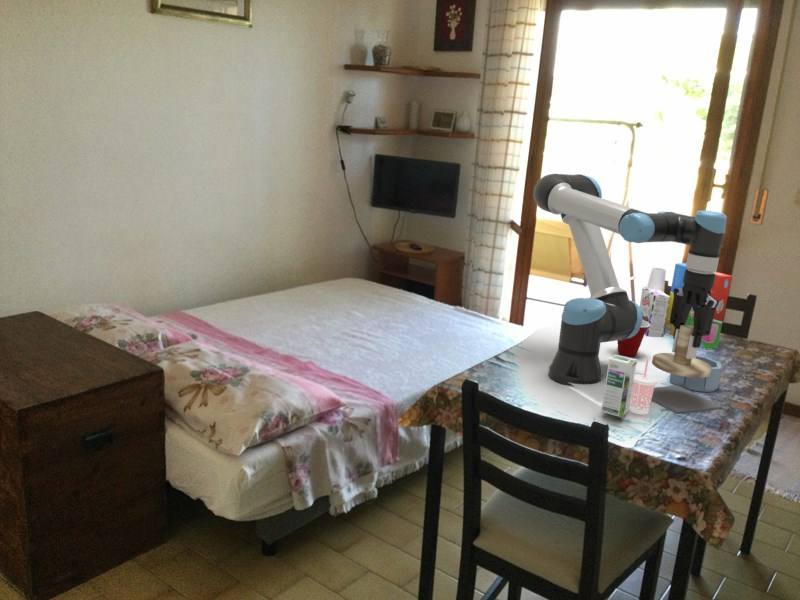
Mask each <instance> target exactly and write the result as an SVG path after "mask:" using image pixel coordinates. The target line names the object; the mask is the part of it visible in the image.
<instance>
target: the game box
mask: <svg viewBox="0 0 800 600" xmlns="http://www.w3.org/2000/svg"><path fill="white" fill-rule="evenodd" d="M686 269H688V268H686V262H684V263H682V262H681V263H675V266H674V272H673V276H672V283H671V287H670V292H669V296H670V299H669V305H668V310H667V315H666V320H665V325H664V331H663V334H667V335H668V336H669V335H670V336H671V337H673V335H674V330H675V327H674V325H673V324H670V316H671V310H672V305H673V299H674V292H673V290H674V289H675V288H682V287H683V286H684V283H683V278H684V273H685V270H686ZM714 274H715V275H716V276H715V281H714V286H713V287H712V288H711V297H712V298H713V299H714V300H718V301H719V304H718V306H717V307H716V309H715V313H714V317H713V322H712V326H711V331H710V335H708V336H702V339H701V344H700V347H699V348H701V347H702V348H701V349H704V348H705V349H704V350H709V349H708V348H715V347H719V342H720V337H721V336H720V335H721V331H722V326H723V322H724V315H725V313H726V312H725V311H726V306H727V302H728V298H729V293H730V287H731V282H732V278H733V275H730V274H726V273H722V272H719V271H716V272H714ZM706 303H707V302H706ZM698 307H701V306H698ZM685 325H690V326H694V310H693V307H692V308H691V310H690V313H689V315H688V318H687V320H686V323H685ZM715 349H716V348H715Z"/></svg>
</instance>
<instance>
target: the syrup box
mask: <svg viewBox="0 0 800 600" xmlns="http://www.w3.org/2000/svg"><path fill="white" fill-rule="evenodd" d="M637 363H638V358H637V359H636V358H633V357H625V356H621V355H619V354H614V355H612V356H611V357H610V358H609V359H608V364H607V370H606V376H605V377H606V378H605V384H604V390H603V391H604V392H603V397H602V404H601V409H600V412H601V413H603V414H604V413H605V414H608V415H611V416H616V417H619V418H621V419H623V418H624V417H625V415H627V413H629V411H630V399H631V393H632V387H633V381H634V375H635V374H636V367H637Z"/></svg>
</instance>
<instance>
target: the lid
mask: <svg viewBox="0 0 800 600" xmlns="http://www.w3.org/2000/svg"><path fill="white" fill-rule="evenodd" d="M693 331H694V326H690V325H680V330H679V335H678V340H677V345H676V350H675V352H659V353H655V354H654V355H652V360H651V364H652V365H653V366H654V367H655V368H657V369H659V370H660V371H663V372H665V373H667V374H670V373H671V374H674V375H678V376H684V377H691V378H704V377H708V376H710V375H711V370H712V367H711V366H710V365H709V364H708V363H706V362H704V361H702V360H700V359H697V358H693V359H687V358H686V354H687V350H688V345H689V340H690V335H691V334H693Z"/></svg>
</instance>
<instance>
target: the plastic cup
mask: <svg viewBox="0 0 800 600" xmlns="http://www.w3.org/2000/svg"><path fill="white" fill-rule="evenodd" d="M648 327H650V324H649V323H648V322H646V321H644V320H642V325H641V327H640V329H639V331H638V333H637V334H636V335H635V336H633V337H631V338H628V339H624V340H622V341H617V353H618V354H617V355H620V356H624V357H628V358H635V357H637V355H638V352H639V349H640V347H641V345H642V342H643V339H644V337H645V332H646V330H647V329H648Z"/></svg>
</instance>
